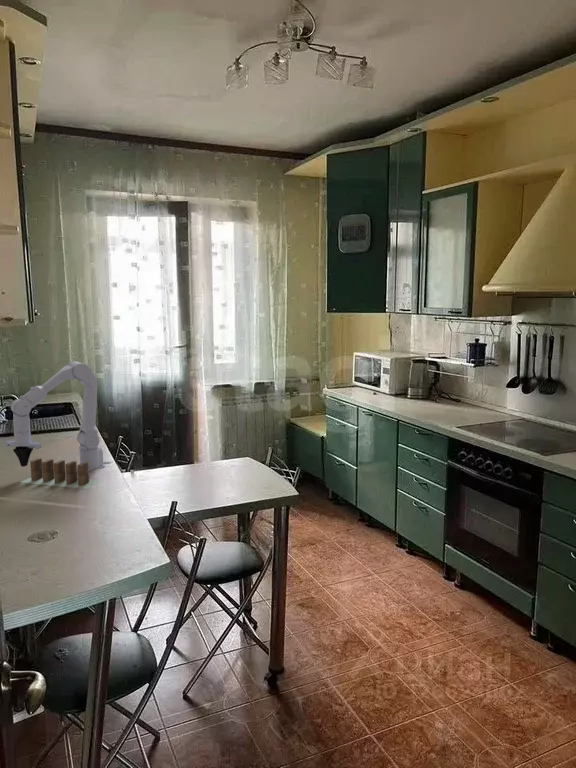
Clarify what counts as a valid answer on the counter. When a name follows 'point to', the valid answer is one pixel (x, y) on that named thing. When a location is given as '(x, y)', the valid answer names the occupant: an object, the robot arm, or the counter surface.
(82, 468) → the domino end
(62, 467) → the domino
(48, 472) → the domino
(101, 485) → the counter surface
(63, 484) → the board
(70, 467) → the domino
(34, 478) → the domino
